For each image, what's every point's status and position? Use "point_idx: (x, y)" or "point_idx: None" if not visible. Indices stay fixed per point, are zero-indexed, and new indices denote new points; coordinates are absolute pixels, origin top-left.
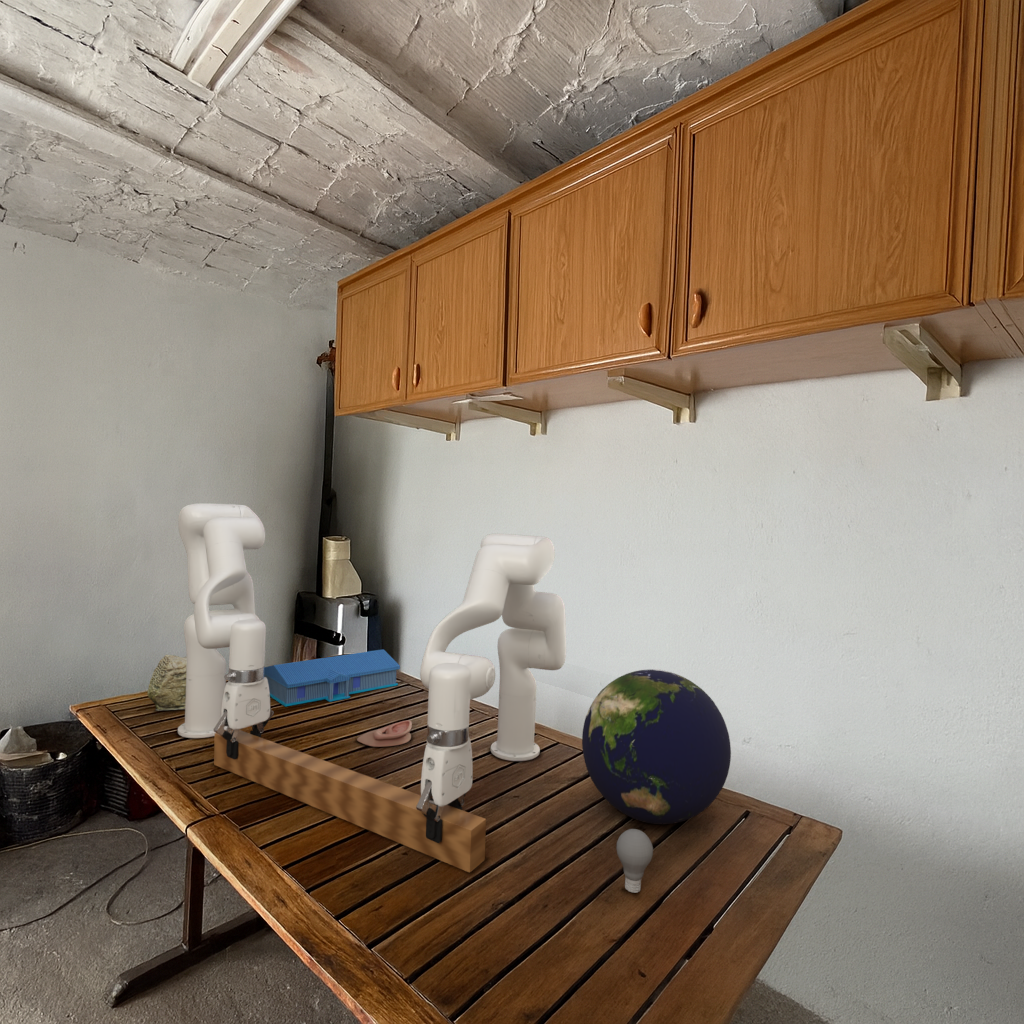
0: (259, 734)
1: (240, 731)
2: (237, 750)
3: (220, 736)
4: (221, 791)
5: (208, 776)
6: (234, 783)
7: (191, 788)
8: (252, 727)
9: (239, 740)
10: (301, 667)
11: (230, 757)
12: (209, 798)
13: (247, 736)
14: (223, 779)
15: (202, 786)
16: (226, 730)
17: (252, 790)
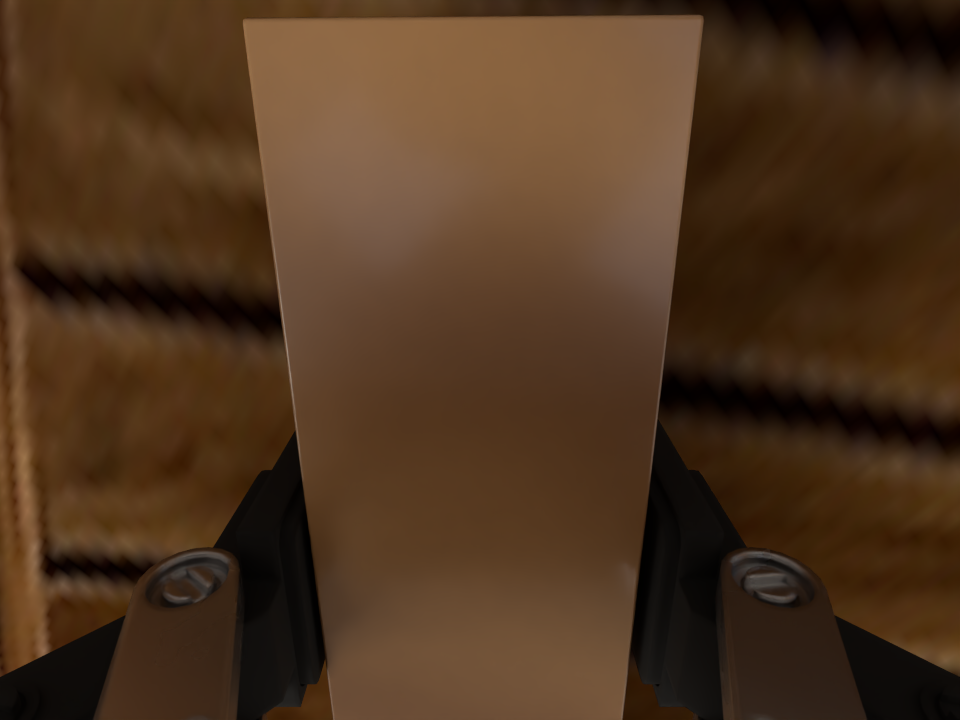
0: (668, 701)
1: (626, 355)
2: None
3: (272, 243)
4: None
5: (207, 281)
6: None
7: (10, 375)
8: (720, 617)
9: (374, 631)
10: None
11: None
12: (65, 590)
13: (540, 603)
14: (271, 424)
15: (93, 408)
16: (107, 696)
17: (324, 683)
